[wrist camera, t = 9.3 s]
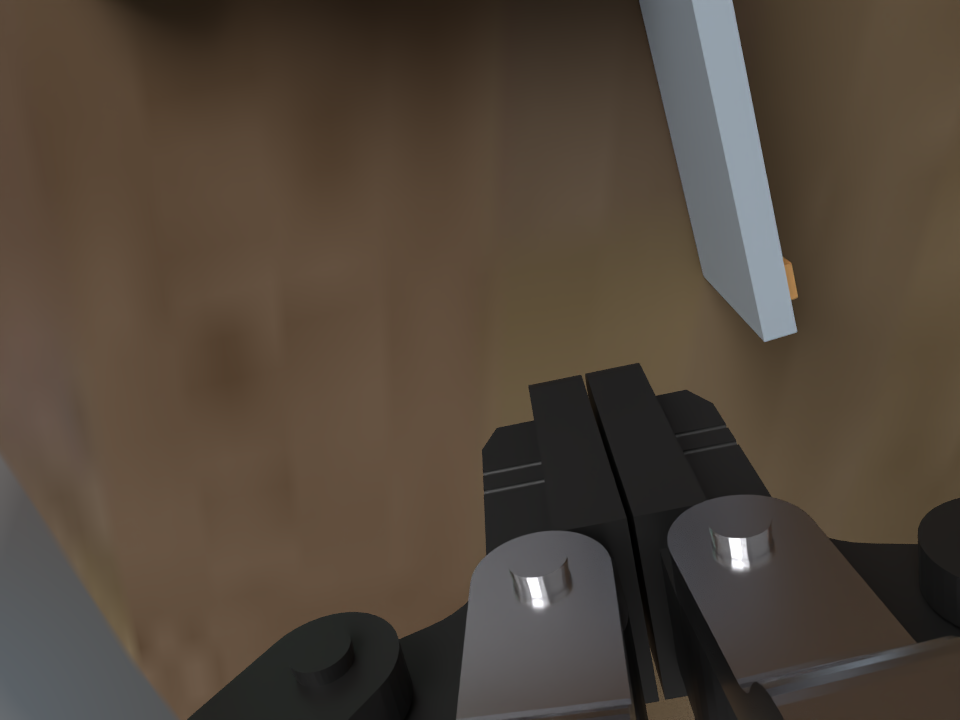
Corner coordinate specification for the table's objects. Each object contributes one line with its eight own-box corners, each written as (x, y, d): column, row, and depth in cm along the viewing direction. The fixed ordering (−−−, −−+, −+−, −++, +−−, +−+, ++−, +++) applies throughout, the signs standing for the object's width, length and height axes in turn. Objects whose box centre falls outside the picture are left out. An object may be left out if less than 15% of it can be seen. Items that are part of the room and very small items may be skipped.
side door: (602, -140, 27) (648, -190, 20) (661, -162, 27) (727, -219, 20) (701, 276, 32) (763, 345, 26) (750, 261, 32) (826, 326, 26)
